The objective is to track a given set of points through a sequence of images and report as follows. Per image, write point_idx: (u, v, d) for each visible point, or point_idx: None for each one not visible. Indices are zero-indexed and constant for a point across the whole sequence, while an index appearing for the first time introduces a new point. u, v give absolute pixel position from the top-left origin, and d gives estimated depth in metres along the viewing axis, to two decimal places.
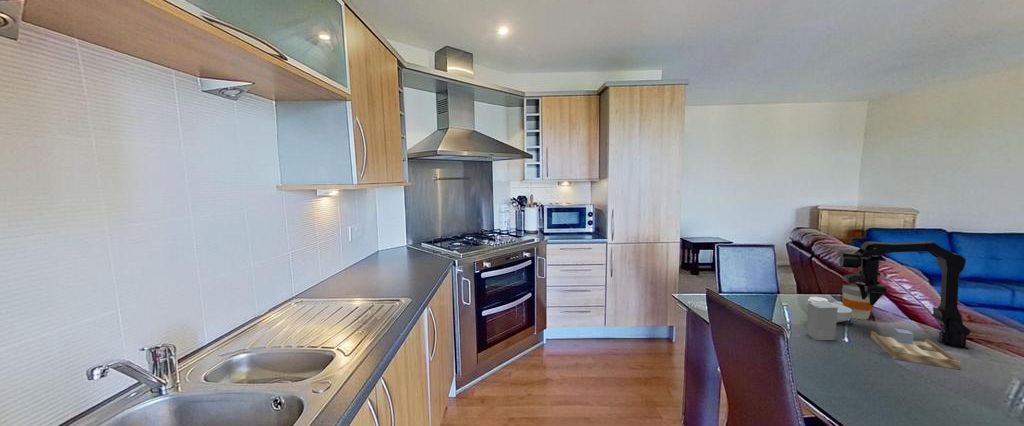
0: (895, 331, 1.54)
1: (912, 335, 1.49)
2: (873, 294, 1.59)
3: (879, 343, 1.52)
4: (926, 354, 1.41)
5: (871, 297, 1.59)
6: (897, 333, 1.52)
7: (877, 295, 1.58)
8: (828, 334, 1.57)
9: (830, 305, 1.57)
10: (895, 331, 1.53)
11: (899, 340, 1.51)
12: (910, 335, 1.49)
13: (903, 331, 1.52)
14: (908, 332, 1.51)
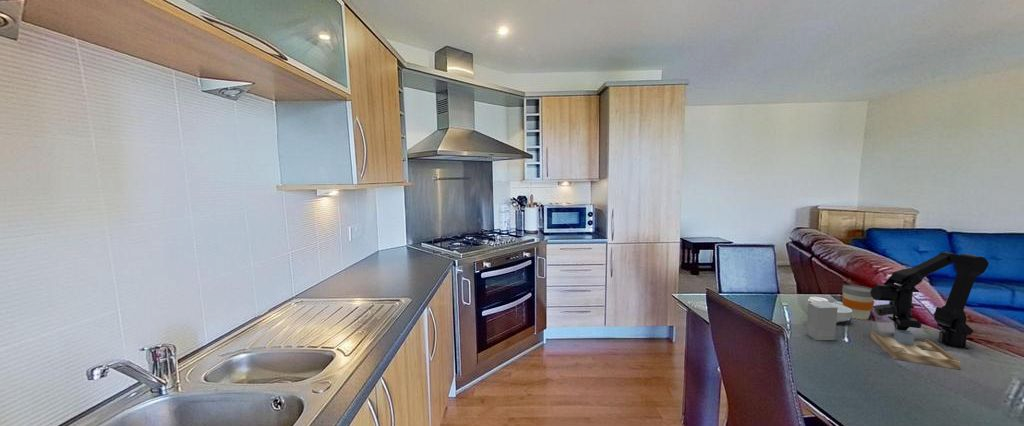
0: (896, 332, 1.53)
1: (913, 336, 1.49)
2: (901, 324, 1.54)
3: (879, 343, 1.52)
4: (926, 354, 1.41)
5: (899, 327, 1.54)
6: (898, 334, 1.51)
7: (905, 326, 1.53)
8: (828, 334, 1.57)
9: (830, 305, 1.57)
10: (896, 332, 1.53)
11: (900, 341, 1.51)
12: (911, 336, 1.49)
13: (904, 332, 1.51)
14: (909, 333, 1.50)
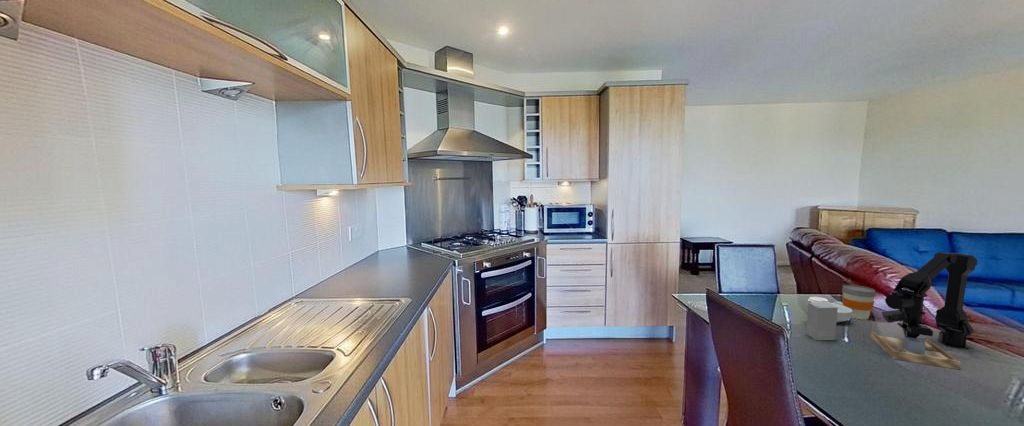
0: (906, 339, 1.46)
1: (924, 344, 1.41)
2: None
3: (879, 343, 1.52)
4: (926, 354, 1.41)
5: (909, 335, 1.47)
6: (908, 342, 1.44)
7: None
8: (828, 334, 1.57)
9: (830, 305, 1.57)
10: (906, 339, 1.45)
11: (910, 349, 1.43)
12: (922, 344, 1.41)
13: (914, 340, 1.44)
14: (919, 341, 1.43)
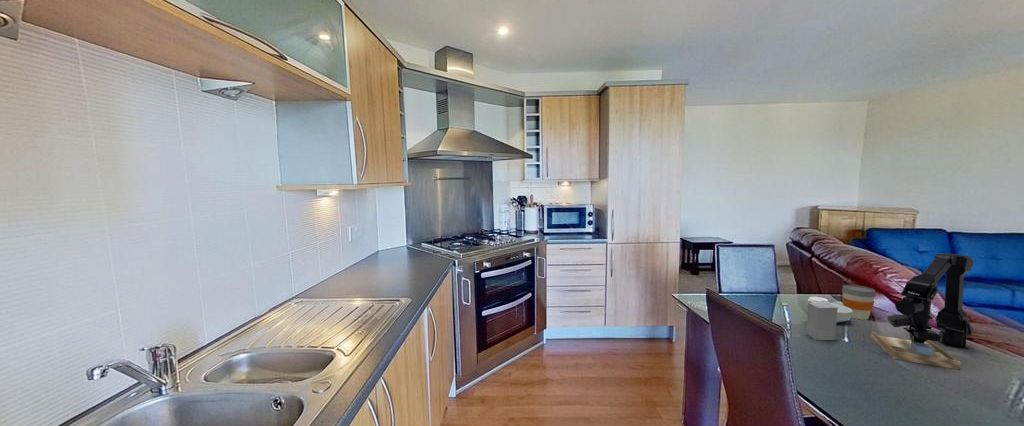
0: (913, 345, 1.41)
1: (932, 349, 1.37)
2: None
3: (879, 343, 1.52)
4: None
5: (915, 340, 1.42)
6: (915, 347, 1.39)
7: None
8: (828, 334, 1.57)
9: (830, 305, 1.57)
10: (913, 345, 1.41)
11: None
12: (930, 349, 1.37)
13: (922, 345, 1.39)
14: (927, 346, 1.38)
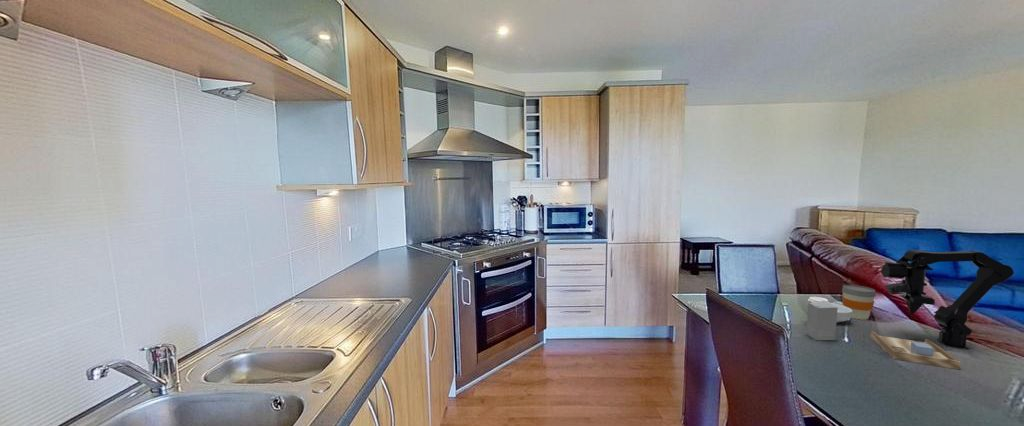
0: (913, 345, 1.41)
1: (932, 349, 1.37)
2: (914, 302, 1.55)
3: (879, 343, 1.52)
4: None
5: (911, 305, 1.55)
6: (915, 347, 1.39)
7: (918, 303, 1.54)
8: (828, 334, 1.57)
9: (830, 305, 1.57)
10: (913, 345, 1.41)
11: None
12: (930, 349, 1.37)
13: (922, 345, 1.39)
14: (927, 346, 1.38)
